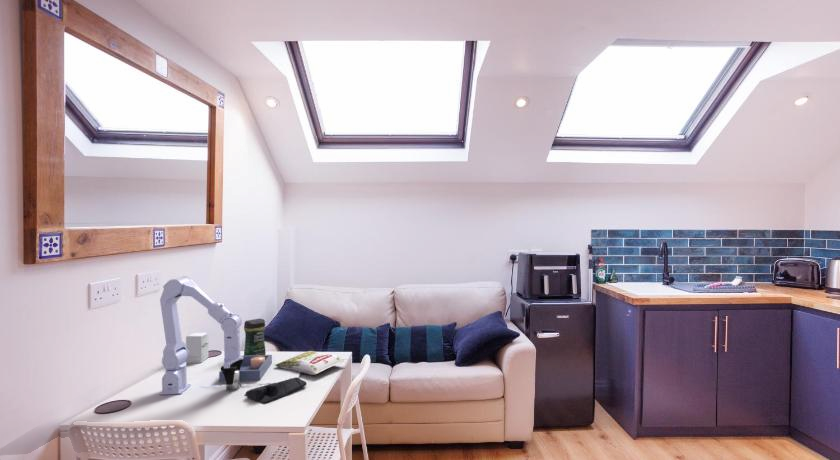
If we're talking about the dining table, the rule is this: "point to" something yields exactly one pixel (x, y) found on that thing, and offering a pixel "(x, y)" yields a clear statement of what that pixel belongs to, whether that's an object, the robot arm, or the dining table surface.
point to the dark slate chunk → (275, 390)
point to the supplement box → (197, 347)
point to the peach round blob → (257, 362)
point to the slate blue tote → (246, 370)
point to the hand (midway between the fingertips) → (232, 380)
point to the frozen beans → (311, 362)
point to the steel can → (234, 382)
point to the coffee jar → (254, 337)
